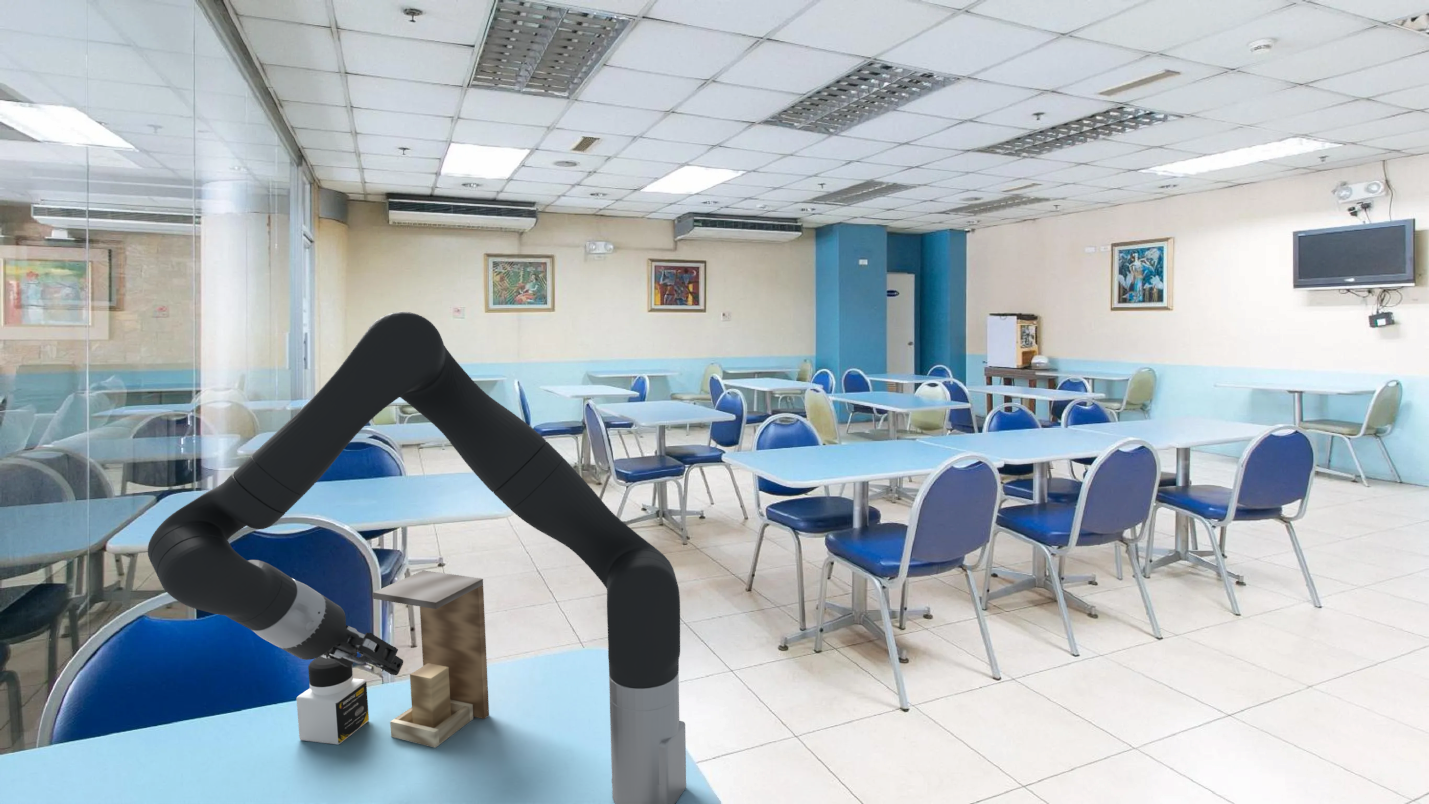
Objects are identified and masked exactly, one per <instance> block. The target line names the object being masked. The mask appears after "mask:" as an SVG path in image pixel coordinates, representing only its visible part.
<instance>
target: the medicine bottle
mask: <svg viewBox="0 0 1429 804" xmlns="http://www.w3.org/2000/svg"><path fill="white" fill-rule="evenodd" d="M307 668H308V681H309V682H308V683H309V688H308V689H306V690H304V691H303V692H302V693H300V694H299V695H298V696H297V697H296V707H297V708H296V709H297V711H296V712H297V723H298V734H299V735H298V738H299V740H300V741H306V742H314V743H321V744H331V745H341V744H342V743H343V742H344V741H346V740H347V739H348V738H349V737H351V736H352V735H354V733H356V732H357V731H358V730H359V729H360V728H361V727H364V725H365V724H366V723H368V722H369V721H370V717H369V701H368V686H367V680H366V679H362V678H354V672H353V665H352V666H351V667H346V666H343V665H342V664H340V663H338V662H336V661H334V660H333V659H331V657H330V658H327V659H326V658H323V657H321V656H320V657H318V658H315V659H312V661H310V663H309V664H308V667H307Z"/></svg>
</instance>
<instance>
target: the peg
mask: <svg viewBox="0 0 1429 804" xmlns="http://www.w3.org/2000/svg"><path fill="white" fill-rule="evenodd" d="M409 679H410V680H409V681H410V700H411V707H412V719H413V723H414V724H418V725H422V726H426V727H431V728H435V727H437V726H438V725H439V724H441V723H442V722H444V721H445V720H446V719H448V718H449V717H451V705H450V686H449V667H446V666H440V665H435V664H430V663H428V664H426V665H424V666H423V665H422V667H420V668H418V669H416V670H415V671H413V672H412V673H410V674H409Z"/></svg>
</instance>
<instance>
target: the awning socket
mask: <svg viewBox="0 0 1429 804" xmlns="http://www.w3.org/2000/svg"><path fill="white" fill-rule="evenodd" d="M484 596H485V593H484V579H483V578H481V577H474V576H465V575H459V574H452V573H446V572H437V571H431V570H421V571H418V572H416V573H414V574H412V575H408V576H407V577H405V578H403V579H400V580H398V581H396V582H393V583H391V584H389V585H387V586H384V587H383V588H379V589H376V590H375V591H373V592H372V599H373V600H377V601H378V600H379V601H384V602H390V603H398V604H402V605H403V604H404V605H409V606H415V607H419V615H420V617H419V618H420V632H421V633H420V634H421V649H422V654H421V655H422V667H423V666H424V665H426V664H428V663H430V664H435V665H440V666H446V667H449V686H450V705H451V717H449V718H448V719H446V720H445V721H444V722H442V723H441V724H439V725H438V726H437V727H435V728H431V727H426V726H422V725H418V724H414V723H413V719H412V706H411V707H410V708H408V709H407V710H405V711H404V712H402V713H401V714H400V715H397V716H396V717H394V719H392V720H390V722H389V723H390V735H391V736H390V737H391V738H394V739H399V740H402V741H407V742H411V743H414V744H419V745H423V746H427V747H431V748H434V749H436V748H437V747H438V746H440V745H441V744H442V743H444V742H445V741H447V740H448V739H449V738H451V737H452V736H453V735H454V734H456V733H457V732H458V731H460V730H461V729H462V728H463V727H465V726H466V725H467V724H469V723H470V722H472V720H474V718H478V719H482V720H485V719H486V718H488V717H489V716H490V704H489V686H488V685H489V684H488V683H489V681H488V663H487V662H488V661H487V659H488V658H487V640H486V639H487V638H486V622H485V621H486V618H485V617H486V616H485V615H486V614H485V597H484Z"/></svg>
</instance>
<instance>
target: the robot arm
mask: <svg viewBox="0 0 1429 804" xmlns="http://www.w3.org/2000/svg"><path fill="white" fill-rule="evenodd" d="M399 398H401V399H402V400H403V401H404V402H406V403H407V404H408V405H409V406H411V407H412V408H413V409H415V410H416V411H417V412H419V413H420V414H421V415H422V416H423V417H424V418H426V419H427V420H428V421H429V422H430V423H431V424H432V425H433V426H435V427H436V428H437V429H438V430H439V431H440V432H441V433H442V435H443V436H444V437H445V438H446V439H447V441H449V443H450V444H451V446H452V447H453V448H454V449H455V451H456V452H457V453H458V454H459V456H460V457H461V458H462V460H463V461H464V462H465V463H466V464H467V466H468V467H469V469H471V470H472V472H473V473H474V474H475V476H477V477H478V478H479V480H480V481H481V482H482V483H483V484H484V485H485V486H486V488H488V490H490V492H492V493H493V494H494V495H495V496H496V497H497V498H498V499H499V501H501V502H502V503H503V504H504V505H505V506H506V507H507V508H508V509H510V511H512V513H513V514H515V515H516V516H517V517H518V518H519V519H521V520H522V521H523V522H525V523H526V524H528V525H529V526H531V527H532V528H534V529H536V530H537V531H539V532H541V533H543V534H545V535H546V536H548V537H550V538H552V539H553V540H555V541H557V542H559V543H560V544H563V545H564V546H565V547H567V548H568V549H570V550H571V551H572V552H574V554H575V555H577V557H579V558H580V559H581V561H583V562H584V563H585V565H586V566H588V567H589V569H590V570H591V571H592V572H593V573H594V574H595V575H596V577H597V578H598V579H599V581H600V582H601V583H602V584H603V586H604V587H605V588H606V618H607V619H606V620H607V621H606V623H607V647H608V648H607V652H608V653H607V654H608V656H607V657H608V674H609V675H608V676H609V677H608V680H609V681H608V683H609V720H610V722H609V723H610V724H609V725H610V761H611V765H610V766H611V785H612V786H611V789H612V790H611V791H612V792H611V793H612V801H613V803H614V804H677V801H678V800H679V799H680V797H681V796H682V794H683V793H684V792H685V790H686V789H687V751H686V742H687V741H686V722H685V721H682V720H680V680H679V677H680V676H679V675H680V674H679V671H680V668H679V667H680V665H679V663H680V662H679V661H680V660H679V659H680V656H681V655H680V654H681V597H680V596H681V595H680V588H679V584H678V581H677V577H676V573H675V570H674V567H673V566H672V564H671V562H670V560H669V559H668V558H667V557H666V556H665V555H664V554H663V553H662V552H661V551H660V550H659V549H657V548H656V547H655V546H654V545H652V544H651V543H649V542H648V541H647V540H646V539H644V538H643V537H642V536H640V535H639V534H638V533H637V532H635V530H634V529H632V528H631V527H630V526H628V525H627V524H626V523H625V522H623V521H622V520H621V519H620V518H619V517H618V516H617V515H615V513H613V511H612V510H610V508H608V506H607V505H606V504H605V503H604V502H603V500H601V498H600V496H598V494H597V493H596V492H595V491H594V489H592V487H591V486H590V485H589V484H588V483H587V482H586V480H585V479H584V478H583V477H582V476H581V475H580V474H579V473H578V471H576V470H575V469H574V468H573V466H572V465H571V464H570V463H569V462H568V461H567V460H566V459H565V457H563V456H562V455H561V454H560V453H559V451H557V450H556V449H555V448H554V447H553V445H551V444H550V443H549V442H548V441H547V440H546V439H545V438H544V437H543V436H542V435H541V434H540V433H538V431H536V430H535V429H534V428H533V427H531V426H530V425H529V424H528V423H527V422H526V421H524V420H523V419H521V418H520V417H519V416H517V415H516V414H515V413H514V412H512V411H510V410H509V408H507V407H505V406H504V405H502V404H501V403H499V401H496V400H495V399H494V398H492V397H491V396H490V395H488V394H487V393H486V392H485V391H484V390H483V389H482V388H481V387H480V386H479V385H478V384H477V383H476V382H475V381H474V380H473V379H472V377H470V375H469V374H468V373H467V372H466V371H465V370H464V369H463V367H462V366H461V365H460V364H459V362H457V360H456V359H455V357H453V355H452V354H451V352H450V351H449V350H448V348H446V346H445V344H444V341H443V339H442V335H441V334H440V332H439V329H437V327H436V326H435V325H434V324H433V323H432V322H431V321H430V320H429V319H427V318H426V317H425V316H423V315H420V314H419V313H418V314H417V313H414V312H410V311H396V312H392V313H387V314H385V315H383V316H381V317H379V318H378V319H376V320H375V321H373V322H372V324H371V325H370V326H368V329H367V330H366V332H365V333H364V335H362V337H361V338H360V339H359V341H358V342H357V343H356V345H355V347H354V348H353V349H352V350H351V352H350V353H349V355H348V356H347V357H346V359H345V360H344V361H343V362H342V364H341V365H340V366H339V367H338V368H337V370H336V372H334V374H333V375H332V376H331V377H330V378H329V380H328V381H327V382H325V384H324V385H323V386H322V387H321V389H320V390H319V391H318V392H316V394H315V395H314V396H313V397H312V398H311V399H310V400H309V401H308V402H307V403H306V404H305V405H304V406H303V407H302V408H300V410H299V411H298V412H297V413H296V414H295V415H294V416H293V417H292V418H290V419H289V420H288V422H286V423H285V424H284V425H283V426H282V427H281V428H280V429H278V431H276V432H275V433H274V434H273V435H272V436H271V437H269V439H268V440H266V441H265V443H263V444H262V445H261V446H259V448H258V449H256V450H255V452H254V453H253V454H251V455H250V457H248V458H247V459H246V460H245V461H244V462H243V463H242V464H241V465H239V467H238V468H237V469H236V470H234V471H233V473H231V474H230V475H229V477H227V479H226V480H224V482H222V483H221V484H220V485H217V486H216V487H214V488H212V489H210V490H208V491H206V492H204V493H203V494H201V495H200V496H198V497H197V498H194V500H192V501H190V502H188V503H187V504H185V505H184V506H182V507H180V508H179V509H178V510H176V511H175V512H173V513H172V514H170V516H168V517H167V518H165V520H163V521H162V523H161V524H160V525H159V526H158V527H157V528H156V529H155V531H154V532H153V534H152V535H151V537H150V540H149V542H148V545H147V556H148V559H149V562H150V563H151V566H152V568H153V570H154V571H155V573H156V576H157V577H158V579H159V580H158V581H159V582H160V585H161V586H162V588H163V589H164V590H165V592H166V593H167V594H168V595H169V596H170V597H172V598H173V599H174V600H176V601H178V602H179V603H180V604H183V605H185V606H187V607H189V608H193V609H195V610H198V611H203V612H206V613H210V614H213V615H219V616H225V617H227V618H229V619H231V620H232V621H234V622H236V623H238V624H240V625H242V626H243V627H245V628H247V629H249V630H250V631H252V632H253V633H255V635H257V636H258V637H260V638H261V639H263V640H265V641H266V642H269V643H270V644H272V645H273V646H275V647H278V648H279V649H281V650H282V651H285V652H287V653H288V654H290V655H292V656H294V657H296V658H298V659H300V660H304V661H305V660H307V661H308V660H309V661H310V660H314V659H316V658H318V657H320V656H321V657H323V658H326V659H327V658H330V657H331V659H333V660H334V661H336V662H338V663H340V664H342V665H343V666H346V667H351V666H352V667H353V665H354V663H355V664H359V665H363V664H365V663H367V664H370V665H373V666H375V667H376V668H379V669H381V670H383V671H384V672H386V673H388V674H390V675H392V676H398V675H399V674H400V672H401V669H402V668H403V665H404V660H403V659H402V658H400V657H399V656H397V653H398V651H399V649H398V648H397V647H395V646H393V645H392V644H390V643H389V642H387V641H385V640H383V639H381V638H380V637H378V636H377V635H375V634H374V633H372V632H365V634H364V633H363V632H360V631H358V630H357V628H355V627H352V626H350V625H347V621H346V620H347V619H346V617H347V616H346V613H345V611H344V609H343V608H342V606H340V605H339V604H337V603H336V602H334V601H332V600H331V599H329V598H328V597H326V596H324V595H323V594H321V593H320V592H318V591H317V590H315V589H314V588H312V587H310V586H309V585H307V584H305V583H303V582H301V581H299V580H297V579H294V578H293V577H290V575H287V574H286V573H285V572H283V571H282V570H281V569H279V568H277V567H275V566H273V565H271V564H270V563H268V562H265V561H263V560H259V559H249V560H247V559H246V558H244V557H243V556H241V555H240V554H239V553H238V552H237V551H235V549H234V548H233V547H232V545H231V543H230V542H229V539H230V538H231V537H232V536H234V535H235V534H236V533H238V532H239V531H240V530H242V529H244V528H245V527H249V528H251V529H254V530H265V529H268V528H270V527H271V526H273V525H274V524H276V523H277V522H278V521H279V520H280V519H282V517H283V516H285V514H286V513H287V512H288V511H289V510H290V509H291V508H292V507H294V505H295V504H297V502H298V501H300V499H302V498H303V497H304V496H305V494H306V493H308V491H310V489H311V488H312V487H313V486H314V485H315V484H316V483H317V482H318V481H319V480H320V479H321V478H322V477H323V475H325V473H326V472H327V470H329V468H330V467H331V466H332V464H333V463H335V461H336V460H337V458H339V456H340V455H341V454H342V452H343V451H344V450H345V449H346V447H347V446H348V445H349V444H350V442H351V441H353V439H354V438H355V437H356V435H358V433H360V432H361V431H362V430H363V428H364V427H365V426H366V425H367V424H369V422H370V421H372V420H373V419H374V418H375V417H376V416H377V415H378V414H379V413H381V412H382V411H383V410H384V409H385V408H386V407H388V406H389V405H391V404H392V403H394V402H395V401H396V400H398V399H399ZM358 654H360V656H359V657H358Z"/></svg>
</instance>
